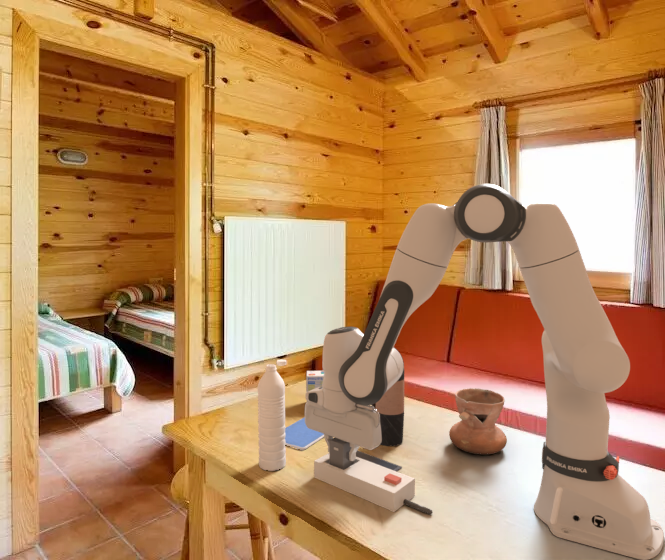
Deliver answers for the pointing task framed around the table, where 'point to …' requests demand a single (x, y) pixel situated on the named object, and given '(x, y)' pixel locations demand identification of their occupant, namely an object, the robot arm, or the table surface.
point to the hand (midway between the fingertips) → (341, 456)
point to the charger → (339, 453)
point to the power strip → (370, 483)
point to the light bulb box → (314, 379)
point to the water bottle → (271, 419)
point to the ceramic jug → (478, 422)
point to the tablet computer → (301, 435)
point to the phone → (378, 461)
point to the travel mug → (392, 414)
